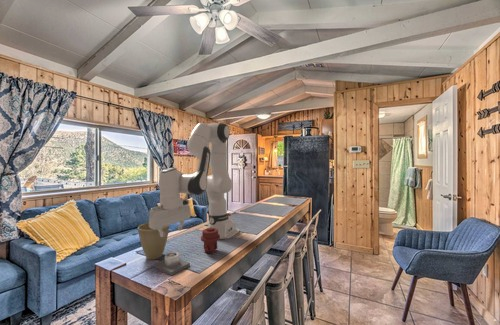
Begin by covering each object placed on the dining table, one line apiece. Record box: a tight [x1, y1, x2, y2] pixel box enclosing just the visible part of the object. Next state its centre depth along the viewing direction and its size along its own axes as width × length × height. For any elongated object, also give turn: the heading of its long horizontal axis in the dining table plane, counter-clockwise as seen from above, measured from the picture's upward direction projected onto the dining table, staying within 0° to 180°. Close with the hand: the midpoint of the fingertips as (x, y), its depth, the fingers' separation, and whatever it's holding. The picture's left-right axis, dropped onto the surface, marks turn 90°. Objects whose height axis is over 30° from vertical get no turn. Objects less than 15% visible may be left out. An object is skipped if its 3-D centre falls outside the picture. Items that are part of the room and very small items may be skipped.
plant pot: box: [137, 222, 170, 260], centre depth 114 cm, size 15×15×16 cm
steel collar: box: [164, 251, 180, 267], centre depth 102 cm, size 6×6×4 cm
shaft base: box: [153, 254, 191, 276], centre depth 102 cm, size 10×13×6 cm
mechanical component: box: [200, 226, 221, 254], centre depth 119 cm, size 12×10×10 cm
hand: (171, 233), depth 102 cm, fingers open, 8 cm apart
